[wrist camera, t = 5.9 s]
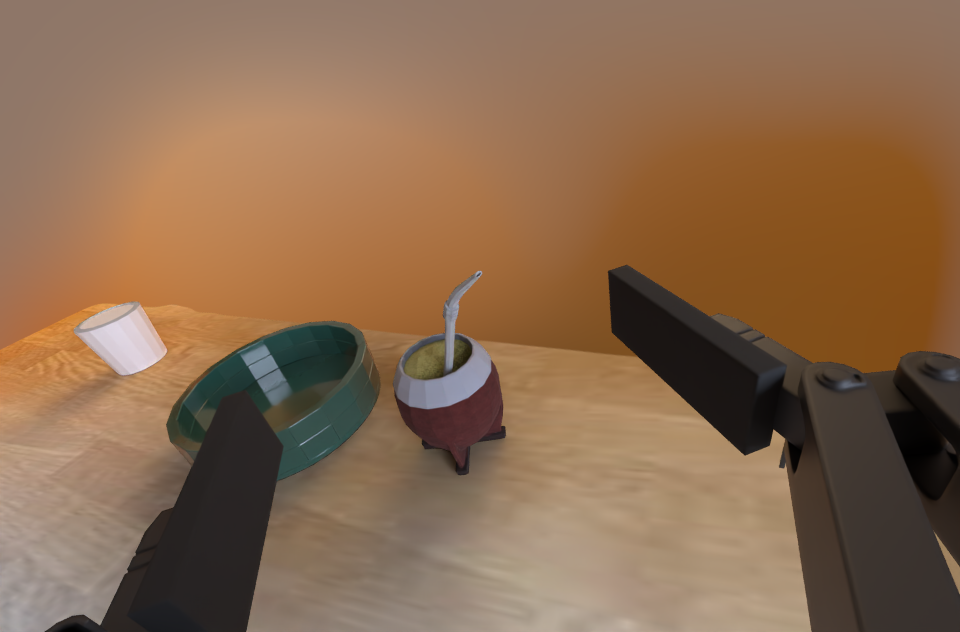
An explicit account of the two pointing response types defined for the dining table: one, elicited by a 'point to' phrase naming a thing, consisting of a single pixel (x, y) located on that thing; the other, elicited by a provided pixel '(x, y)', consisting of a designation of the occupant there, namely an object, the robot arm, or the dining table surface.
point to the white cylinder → (123, 338)
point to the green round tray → (288, 391)
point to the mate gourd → (450, 388)
